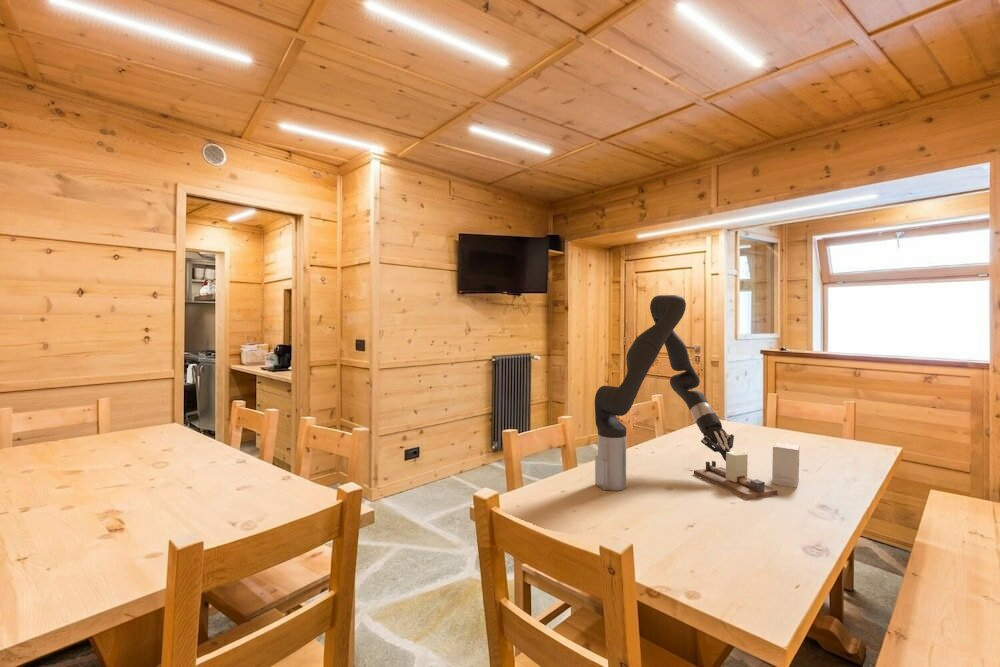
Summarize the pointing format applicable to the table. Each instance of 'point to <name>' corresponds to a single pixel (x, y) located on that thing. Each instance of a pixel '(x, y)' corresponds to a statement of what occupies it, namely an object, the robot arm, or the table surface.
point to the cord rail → (740, 487)
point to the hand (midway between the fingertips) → (730, 461)
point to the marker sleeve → (736, 465)
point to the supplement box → (785, 464)
